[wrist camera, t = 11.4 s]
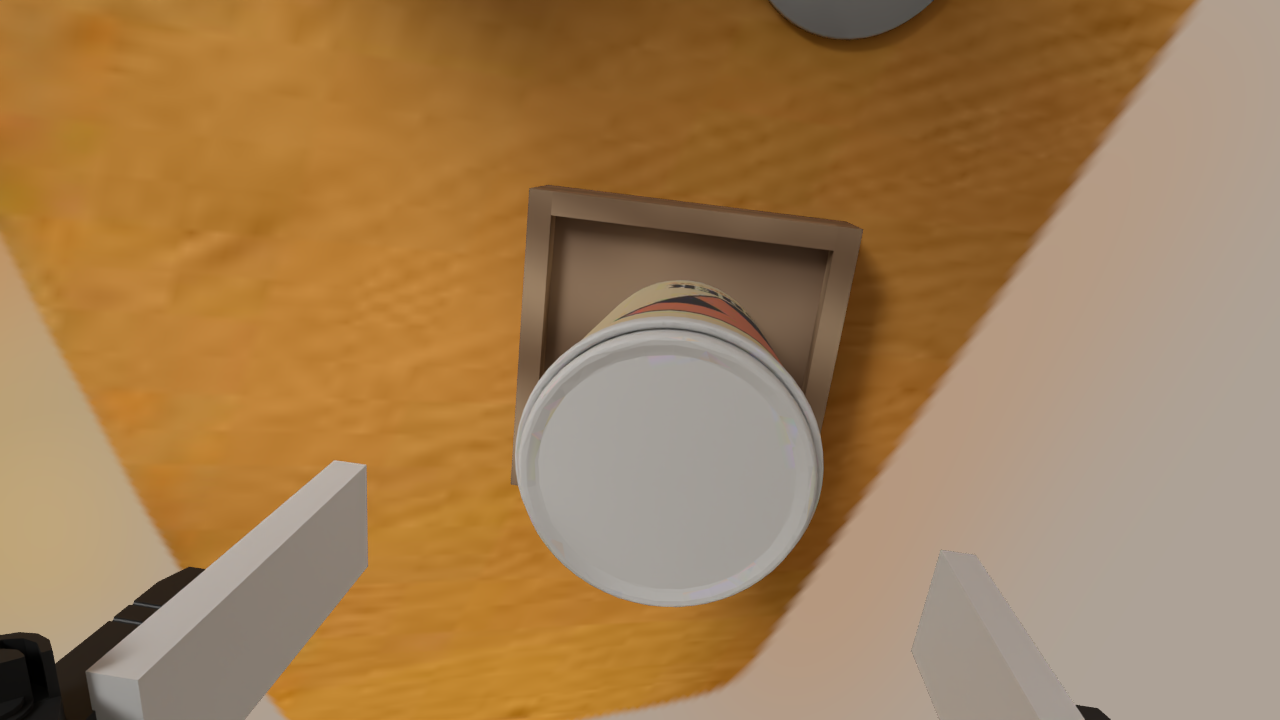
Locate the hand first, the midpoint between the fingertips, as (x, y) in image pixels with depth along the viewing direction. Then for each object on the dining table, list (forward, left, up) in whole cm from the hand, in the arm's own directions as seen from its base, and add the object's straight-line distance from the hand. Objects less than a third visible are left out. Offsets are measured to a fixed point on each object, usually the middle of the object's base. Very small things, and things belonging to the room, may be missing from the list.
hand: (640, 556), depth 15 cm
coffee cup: (0, 0, -17) cm, 17 cm away
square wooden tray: (0, 0, -19) cm, 19 cm away
